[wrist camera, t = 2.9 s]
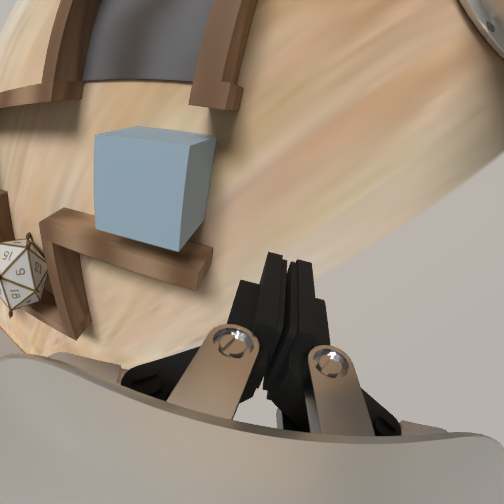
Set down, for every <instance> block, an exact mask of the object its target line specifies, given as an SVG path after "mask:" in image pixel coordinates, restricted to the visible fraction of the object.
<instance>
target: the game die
mask: <svg viewBox="0 0 504 504" xmlns="http://www.w3.org/2000/svg"><path fill="white" fill-rule="evenodd" d="M30 236H31V235H30V232H29V233H28V234H27V236H26V239H19V240H12V241H5V242H0V298H1V299H2V301H3V302H4V303H5V304H6V305H7V307H8V308H9V309H10V311H9V314H8V315H9V317H10V318H11V317H12V316H13V315H12V314H13V312H12V311H13V310H15V309H18V308H21V307H24V306H27V305H30V304H33V303H36V302H39V304H41V305H42V306H44V302H43V301H42V300H41V296H42V292H43V289H44V285H45V282H46V279H47V275H48V270H47V265H46V261H45V258H44V257H43V256H42V255H41V254H40V253H39V251H38V250H37V249H36V248H35V247H34V245H33V244H32V243H31V242H30V240H29V238H30Z"/></svg>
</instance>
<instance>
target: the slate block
mask: <svg viewBox="0 0 504 504" xmlns="http://www.w3.org/2000/svg"><path fill="white" fill-rule="evenodd" d="M216 141H217V136H211V135H205V134H198V133H191V132H184V131H177V130H169V129H160V128H151V127H140V126H137V127H131V128H126V129H121V130H116V131H111V132H106V133H102V134H98V135H95V148H94V208H95V226H96V229H98V230H101V231H105V232H108V233H112V234H115V235H119V236H123V237H126V238H130V239H133V240H137V241H141V242H144V243H148V244H151V245H155V246H159V247H162V248H166V249H170V250H174V251H177V252H179V251H180V250H181V248H182V247H183V246H184V245H185V243H186V242H187V241H188V239H189V238H190V237H191V236H192V234H193V233H194V232H195V231H196V230H197V228H198V227H199V226H200V225H201V223H202V222H203V221H204V220H205V212H206V205H207V198H208V191H209V185H210V178H211V172H212V165H213V159H214V153H215V147H216Z"/></svg>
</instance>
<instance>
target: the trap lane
mask: <svg viewBox="0 0 504 504" xmlns="http://www.w3.org/2000/svg"><path fill="white" fill-rule="evenodd" d="M256 4H257V0H61V2H60V5H59V8H58V11H57V14H56V18H55V21H54V25H53V28H52V32H51V36H50V40H49V45H48V49H47V54H46V59H45V65H44V71H43V77H42V84H36V85H31V86H26V87H21V88H17V89H12V90H8V91H4V92H0V108H4V107H10V106H17V105H24V104H32V103H41V102H52V101H60V100H69V99H80V98H82V91H83V84H84V81H87V80H103V79H162V80H179V81H191V82H193V84H192V89H191V94H190V99H189V104H188V105H194V106H201V107H209V108H215V109H221V110H238V111H239V107H240V102H241V98H242V93H243V89H244V88H242V87H239V86H237V85H236V84H237V79H238V75H239V71H240V66H241V62H242V58H243V54H244V50H245V46H246V42H247V38H248V34H249V30H250V26H251V22H252V18H253V15H254V11H255V7H256ZM39 227H40V234H41V240H42V245H43V251H44V256H45V261H46V265H47V270H48V274H49V278H50V282H51V286H52V290H53V294H54V295H53V294H51V293H49V292H47V291H45V290H43V292H42V296H41V300H42V301H43V302H44V306H42V305H41V304H39V302H36V303H33V304H30V305H27V306H24V307H21V309H23V310H24V311H26V312H28V313H29V314H31V315H32V316H34V317H36V318H37V319H39V320H40V321H42V322H44V323H46V324H47V325H49V326H51V327H52V328H54V329H56V330H58V331H59V332H61V333H63V334H65V335H67V336H69V337H71V338H72V339H74V340H77V339H78V338H79V336H80V335H81V334H82V333H83V331H84V330H85V329H86V328H87V326H88V325H89V324H90V322H91V316H90V312H89V308H88V303H87V298H86V293H85V288H84V283H83V277H82V271H81V265H80V258H79V253H82V254H84V255H87V256H90V257H93V258H96V259H98V260H101V261H104V262H107V263H110V264H113V265H116V266H119V267H122V268H125V269H128V270H131V271H134V272H137V273H140V274H143V275H146V276H149V277H152V278H155V279H158V280H162V281H165V282H168V283H171V284H174V285H178V286H181V287H184V288H188V289H191V290H195V291H196V290H197V289H198V287H199V285H200V283H201V281H202V279H203V277H204V276H205V274H206V272H207V270H208V268H209V266H210V264H211V258H212V252H213V248H212V247H208V246H205V245H201V244H197V243H193V242H190V241H187V242H186V243H185V245H184V246H183V247H182V248H181V250H180V251H179V252H177V251H174V250H170V249H166V248H162V247H159V246H155V245H151V244H148V243H144V242H141V241H137V240H133V239H130V238H126V237H123V236H119V235H115V234H112V233H108V232H105V231H101V230H98V229H96V226H95V216H93V215H90V214H86V213H82V212H79V211H75V210H71V209H68V208H62V209H60V210H59V211H57V212H55V213H54V214H52V215H50V216H49V217H47V218H45V219H44V220H42V221H41V222H39ZM12 240H15V239H14V234H13V229H12V223H11V217H10V211H9V204H8V196H7V191H3V190H0V242H5V241H12Z"/></svg>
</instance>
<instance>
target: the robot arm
mask: <svg viewBox="0 0 504 504" xmlns="http://www.w3.org/2000/svg"><path fill="white" fill-rule="evenodd" d="M459 1H460V3H461V4H462V6H463V7H464V9H465V11H466V12H467V14H468V16H469V17H470V19H471V20H472V21H473V23H474V24H475V26H476V27H477V29H478V30H479V31H480V33H481V34H482V35H483V36H484V38H485V39H486V40H487V42H488V43H489V44H490V45H491V46H492V47H493V48H494V50H495V51H496V52H497V53H498V54H499V55H500V56H501V57H502V58H503V59H504V0H459ZM282 257H283V255H279V254H275V253H271V252H268V255H267V259H266V262H265V266H264V269H263V273H262V277H261V280H260V284H256V283H252V282H248V281H244V280H240V283H239V286H238V289H237V292H236V296H235V299H234V302H233V305H232V309H231V312H230V315H229V318H228V322H227V324H224V325H219V326H217V327H215V328H213V329H212V330H211V331H210V333H209V334H208V335H207V337H206V339H205V340H204V342H203V344H202V345H201V346H200V347H196V348H194V349H190V350H187V351H184V352H181V353H178V354H175V355H172V356H169V357H166V358H162V359H159V360H156V361H152V362H149V363H146V364H142V365H139V366H136V367H134V368H131V369H130V370H127V369H121V365H118V364H113V363H108V362H103V361H98V360H94V359H90V358H85V357H81V356H77V355H74V354H70V353H65V352H58V353H54V354H52V355H50V356H49V357H44V356H39V355H32V354H21V353H18V354H10V355H5V356H3V357H1V358H0V504H504V448H503V446H502V445H501V444H500V443H499V442H498V441H496V440H495V439H493V438H491V437H488V436H485V435H482V434H476V433H469V432H468V433H467V432H453V433H448V432H447V431H446V430H444V429H441V428H436V427H431V426H426V425H421V424H416V423H411V422H407V421H403V420H402V421H401V422H400V423H398V421H397V419H396V418H395V417H394V416H393V415H392V414H390V413H389V412H388V411H387V410H386V409H385V408H383V407H382V406H381V405H380V404H379V403H378V402H377V401H375V400H374V399H373V398H372V397H371V396H370V395H368V394H367V393H366V392H365V391H364V390H363V389H362V388H361V387H360V384H359V381H358V378H357V374H356V372H355V368H354V366H353V363H352V361H351V359H350V357H349V356H348V355H347V354H346V353H345V352H343V351H342V350H340V349H338V348H336V347H334V346H330V338H329V329H328V321H327V313H326V306H325V301H324V300H321V299H318V298H315V289H314V280H313V271H312V263H310V262H306V261H302V260H298V259H297V261H296V263H295V262H291V263H290V265H289V268H288V271H287V260H283V259H282ZM263 377H264V382H263V390H267V391H268V392H267V399H268V400H272V402H273V403H274V404H275V405H276V406H277V407H278V409H277V414H276V416H277V429H276V428H270V427H264V426H259V425H253V424H248V423H244V422H238V421H234V420H233V417H234V415H235V413H236V410H237V408H238V405H239V403H241V402H243V401H245V400H247V399H249V398H251V397H253V395H254V392H255V390H256V388H259V386H260V384H261V381H262V379H263Z"/></svg>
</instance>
